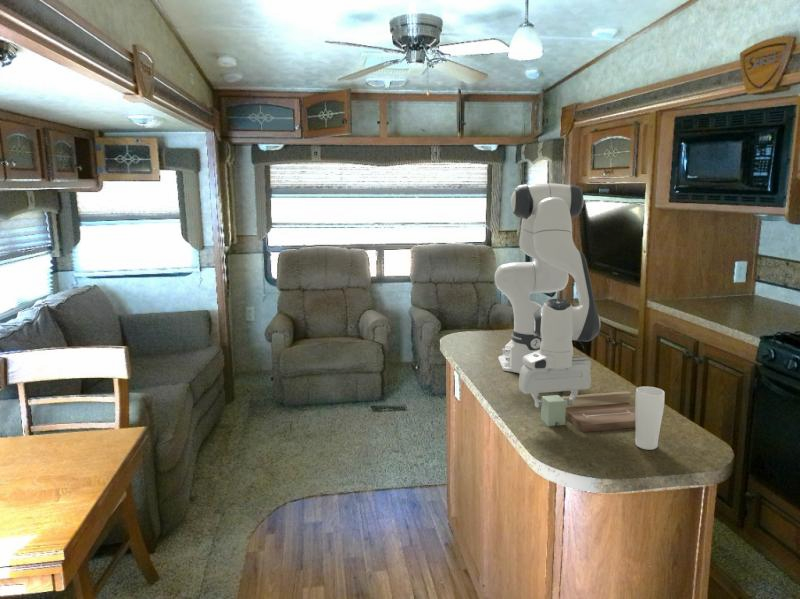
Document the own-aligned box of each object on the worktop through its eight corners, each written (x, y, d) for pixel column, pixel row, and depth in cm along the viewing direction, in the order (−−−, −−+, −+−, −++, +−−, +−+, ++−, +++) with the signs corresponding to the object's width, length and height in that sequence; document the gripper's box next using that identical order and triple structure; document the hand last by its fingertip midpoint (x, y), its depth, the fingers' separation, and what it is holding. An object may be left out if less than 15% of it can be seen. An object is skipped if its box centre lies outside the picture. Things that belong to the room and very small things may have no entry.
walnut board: (560, 412, 173) (560, 396, 172) (626, 407, 176) (627, 391, 175) (582, 432, 159) (583, 414, 158) (653, 425, 162) (654, 408, 161)
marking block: (540, 419, 168) (541, 396, 167) (557, 417, 169) (558, 394, 167) (550, 428, 162) (551, 404, 160) (567, 426, 163) (568, 403, 161)
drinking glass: (627, 441, 153) (631, 386, 150) (652, 439, 154) (656, 385, 151) (639, 452, 147) (644, 396, 144) (665, 451, 147) (670, 394, 144)
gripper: (585, 352, 167) (583, 399, 169) (517, 357, 163) (516, 404, 166) (596, 359, 161) (594, 406, 163) (525, 363, 157) (524, 412, 160)
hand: (554, 405), depth 165 cm, fingers open, 8 cm apart
